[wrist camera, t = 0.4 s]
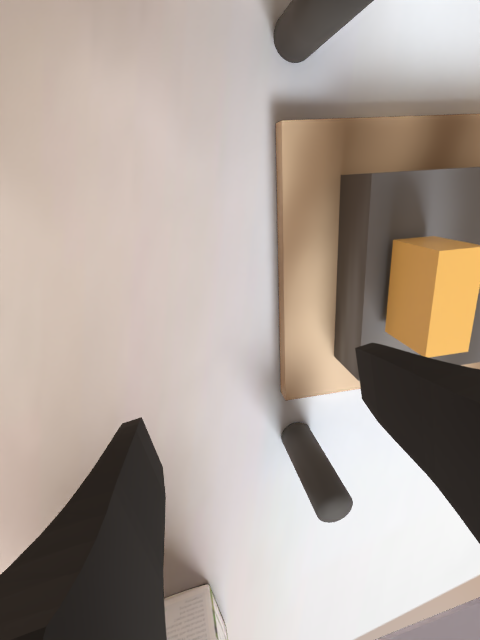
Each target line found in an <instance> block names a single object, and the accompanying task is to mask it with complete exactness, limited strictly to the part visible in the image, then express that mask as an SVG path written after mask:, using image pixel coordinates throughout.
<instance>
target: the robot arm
mask: <svg viewBox="0 0 480 640" xmlns="http://www.w3.org/2000/svg"><path fill="white" fill-rule="evenodd" d="M355 351H356V358H357V366H358V373H359V380H360V387H361V394H362V399H363V401H364V402H365V404H366V405H367V407H368V408H369V410H370V411H371V413H372V414H373V415H374V417H375V418H376V419H377V421H378V422H379V423H380V425H381V426H382V427H383V428H384V429H385V430H386V431H387V432H388V433H389V434H390V436H391V437H392V438H393V439H394V440H395V441H396V442H397V443H398V444H399V445H400V446H401V447H402V448H403V450H404V451H405V452H406V453H407V454H408V455H409V456H410V457H411V458H412V459H413V460H414V461H415V462H416V463H417V464H418V466H419V467H420V468H421V469H422V470H423V471H424V472H425V473H426V474H427V475H428V476H429V478H430V479H431V480H432V481H433V482H434V483H435V485H436V486H437V487H438V488H439V490H440V491H441V492H442V494H443V495H444V496H445V498H446V499H447V500H448V501H449V503H450V504H451V505H452V507H453V508H454V509H455V511H456V512H457V513H458V515H459V516H460V517H461V519H462V520H463V521H464V523H465V524H466V526H467V527H468V528H469V530H470V531H471V532H472V534H473V535H474V537H475V538H476V539H477V541H478V542H479V543H480V369H476V368H471V367H466V366H461V365H457V364H452V363H448V362H444V361H440V360H436V359H432V358H428V357H425V356H421V355H417V354H414V353H410V352H407V351H403V350H400V349H396V348H393V347H389V346H386V345H382V344H377V343H369V344H366V345H363V346H360V347H357V348H355ZM164 531H165V486H164V476H163V467H162V464H161V462H160V460H159V457H158V455H157V453H156V450H155V448H154V446H153V443H152V441H151V438H150V436H149V434H148V431H147V429H146V427H145V424H144V422H143V420H142V417H141V418H138V419H135V420H132V421H129V422H126V423H123V424H122V425H121V426H120V428H119V429H118V431H117V432H116V434H115V435H114V437H113V439H112V440H111V442H110V443H109V445H108V446H107V448H106V450H105V451H104V453H103V454H102V456H101V457H100V459H99V460H98V462H97V463H96V465H95V466H94V468H93V469H92V471H91V472H90V474H89V475H88V476H87V478H86V479H85V480H84V482H83V483H82V484H81V486H80V487H79V489H78V490H77V491H76V493H75V494H74V495H73V497H72V498H71V499H70V501H69V502H68V503H67V504H66V506H65V507H64V508H63V509H62V511H61V512H60V513H59V514H58V515H57V517H56V518H55V519H54V520H53V521H52V522H51V523H50V525H49V526H48V527H47V528H46V529H45V530H44V531H43V532H42V534H41V535H40V536H39V537H38V538H37V539H36V540H35V541H34V542H33V543H32V544H31V545H30V546H29V547H28V548H27V549H26V550H25V551H24V552H23V553H22V554H21V555H20V556H19V557H18V558H17V559H16V560H15V561H14V562H13V563H12V564H11V565H10V566H9V567H8V568H7V569H6V570H5V571H4V572H3V573H2V574H1V575H0V640H167V636H166V623H165V607H164V591H163V559H164ZM375 640H480V597H479V598H476V599H474V600H471V601H469V602H467V603H464V604H462V605H459V606H457V607H454V608H452V609H449V610H447V611H444V612H442V613H439V614H437V615H434V616H432V617H429V618H427V619H425V620H422V621H420V622H417V623H415V624H412V625H410V626H408V627H405V628H402V629H400V630H397V631H395V632H392V633H390V634H388V635H385V636H383V637H380V638H378V639H375Z"/></svg>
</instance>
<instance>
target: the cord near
mask: <svg viewBox="0 0 480 640" xmlns="http://www.w3.org/2000/svg"><path fill="white" fill-rule="evenodd" d="M372 1H374V0H292V2H291V3H290V4H289V6H288V7H287V9H286V10H285V11H284V13H283V14H282V16H281V17H280V18H279V20H278V22H277V24H276V26H275V30H274V43H275V47H276V49H277V51H278V53H279V54H280V56H281V57H282V58H283V59H285V60H286V61H288V62H292V63H298V62H301V61H303V60H305V59H306V58H308V57H309V56H310V55H311V54H312V53H313V52H315V51H316V50H317V49H318V48H319V47H320V46H321V45H323V44H324V43H325V42H326V41H327V40H328V39H330V38H331V37H332V36H333V35H334V34H335V33H336V32H338V31H339V30H340V29H341V28H342V27H343V26H345V25H346V24H347V23H348V22H349V21H350V20H352V19H353V18H354V17H355V16H356V15H357V14H358V13H360V12H361V11H362V10H363V9H364V8H365V7H367V6H368V5H369V4H370V3H371V2H372Z"/></svg>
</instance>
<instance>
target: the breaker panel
mask: <svg viewBox="0 0 480 640" xmlns="http://www.w3.org/2000/svg"><path fill="white" fill-rule="evenodd" d="M276 170H277V222H278V274H279V327H280V379H281V393H282V395H283V397H284V399H285V400H292V399H298V398H305V397H311V396H317V395H323V394H330V393H336V392H342V391H348V390H355V389H361V387H360V380H359V373H358V366H357V358H356V351H355V348H357V347H360V346H363V345H366V344H369V343H377V344H382V345H386V346H389V347H393V348H396V349H400V350H403V351H407V352H410V353H414V354H417V355H420V354H418V353H417V352H415V351H414V350H412V349H411V348H409V347H408V346H406V345H405V344H403V343H402V342H400V341H399V340H397V339H396V338H394V337H393V336H391V335H390V334H388V333H387V332H385V326H386V315H387V303H388V292H389V281H390V269H391V258H392V247H393V240H396V239H407V238H418V237H429V236H436V237H441V238H446V239H452V240H457V241H462V242H467V243H472V244H477V245H480V114H457V115H427V116H398V117H368V118H338V119H308V120H281V121H280V122H278V123H276ZM429 358H432V359H436V360H440V361H444V362H448V363H452V364H457V365H461V366H466V367H471V368H476V369H480V287H479V293H478V299H477V304H476V310H475V316H474V321H473V327H472V333H471V338H470V344H469V350H468V352H462V353H456V354H449V355H443V356H436V357H429Z"/></svg>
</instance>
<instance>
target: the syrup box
mask: <svg viewBox="0 0 480 640" xmlns="http://www.w3.org/2000/svg"><path fill="white" fill-rule="evenodd" d="M164 607H165V623H166V636H167V640H228V637H227V630H226V625H225V623H224V620H223V618H222V615H221V613H220V611H219V608H218V606H217V603H216V601H215V598H214V596H213V593H212V590H211V588H210V586H209V585H202V586H199V587H196V588H193V589H189V590H186V591H183V592H181V593H178V594H175V595H172V596H170V597H167V598H164Z"/></svg>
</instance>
